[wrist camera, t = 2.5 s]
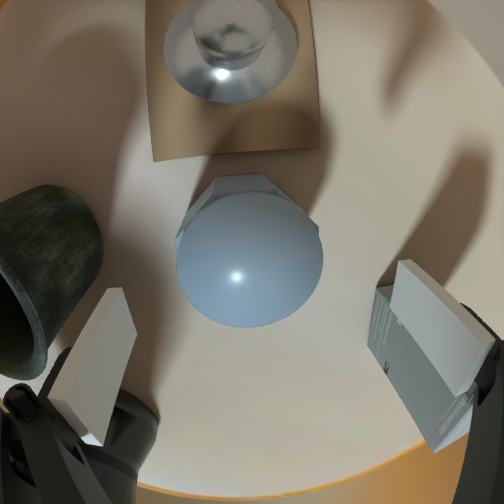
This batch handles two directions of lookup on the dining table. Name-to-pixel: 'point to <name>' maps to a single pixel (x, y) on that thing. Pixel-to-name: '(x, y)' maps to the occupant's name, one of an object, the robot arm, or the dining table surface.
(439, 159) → the dining table surface
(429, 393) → the skincare box
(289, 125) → the base board
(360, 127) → the dining table surface
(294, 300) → the cap
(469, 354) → the robot arm
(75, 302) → the mug
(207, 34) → the stud
